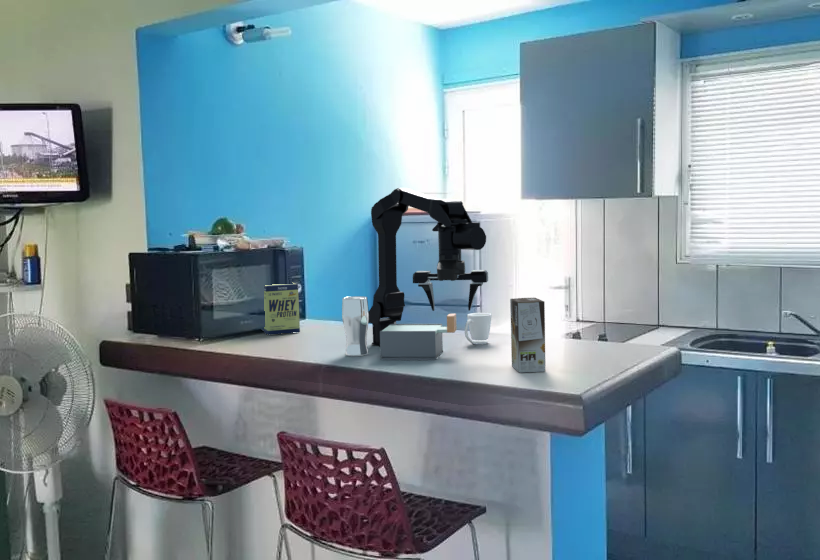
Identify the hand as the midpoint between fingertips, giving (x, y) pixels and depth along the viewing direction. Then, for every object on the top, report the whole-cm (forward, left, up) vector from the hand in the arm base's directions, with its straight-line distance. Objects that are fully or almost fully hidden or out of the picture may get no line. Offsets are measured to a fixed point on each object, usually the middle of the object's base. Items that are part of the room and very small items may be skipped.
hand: (451, 310), depth 204 cm
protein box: (-61, +43, -12) cm, 76 cm away
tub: (-10, 0, -12) cm, 15 cm away
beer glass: (-25, +1, -12) cm, 28 cm away
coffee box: (+20, -17, -12) cm, 29 cm away
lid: (-8, 0, -5) cm, 10 cm away
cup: (+5, +18, -12) cm, 22 cm away
